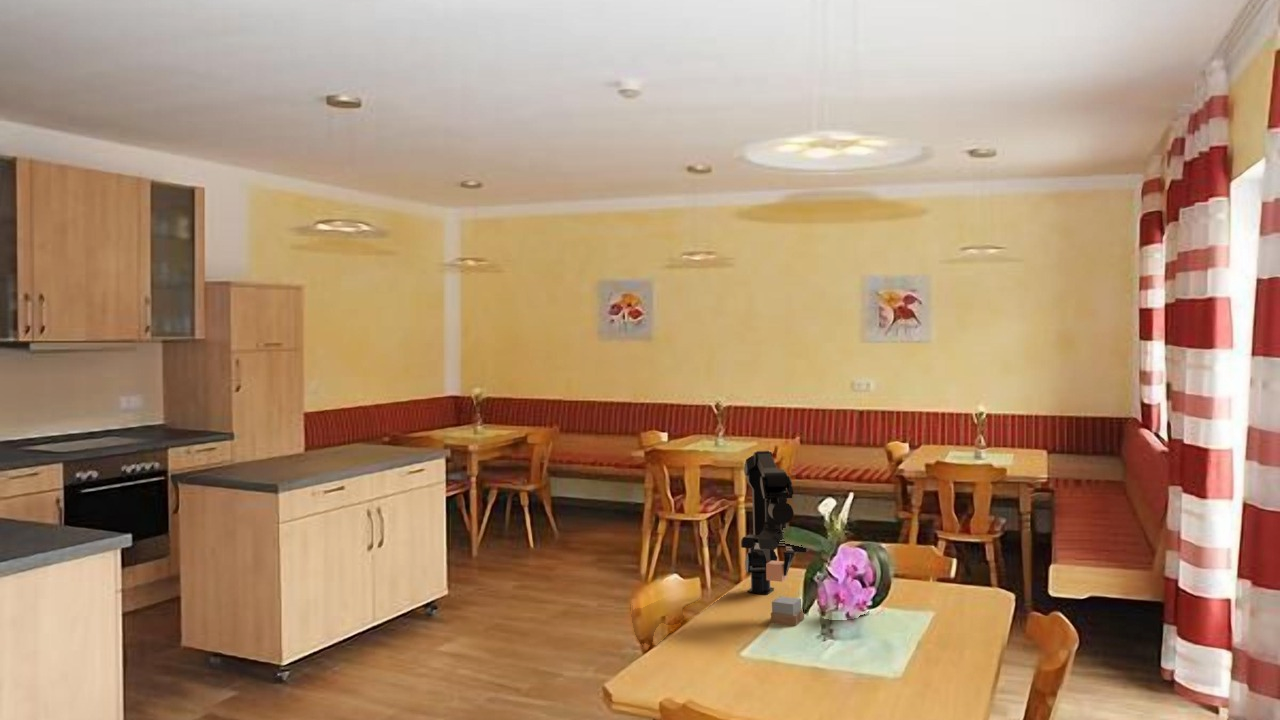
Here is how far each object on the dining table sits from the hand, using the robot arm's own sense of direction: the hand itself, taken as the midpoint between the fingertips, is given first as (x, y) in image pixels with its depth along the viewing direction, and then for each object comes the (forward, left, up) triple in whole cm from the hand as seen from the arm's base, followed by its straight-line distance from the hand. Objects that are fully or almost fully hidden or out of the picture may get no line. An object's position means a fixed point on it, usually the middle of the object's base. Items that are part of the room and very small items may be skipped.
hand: (777, 574), depth 269 cm
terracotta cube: (0, 0, -1) cm, 1 cm away
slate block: (+3, +4, -9) cm, 10 cm away
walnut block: (+3, +4, -12) cm, 13 cm away
